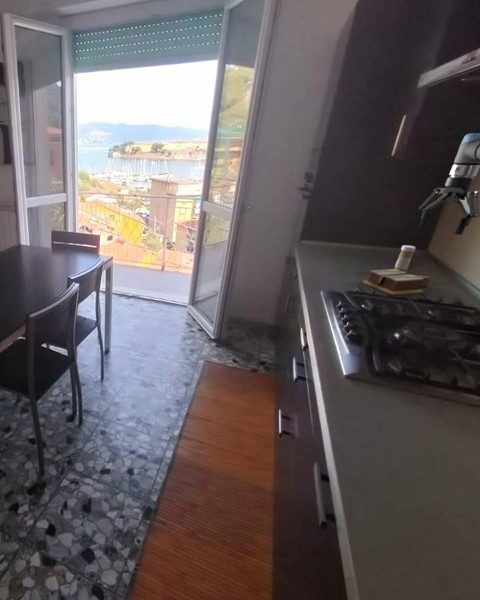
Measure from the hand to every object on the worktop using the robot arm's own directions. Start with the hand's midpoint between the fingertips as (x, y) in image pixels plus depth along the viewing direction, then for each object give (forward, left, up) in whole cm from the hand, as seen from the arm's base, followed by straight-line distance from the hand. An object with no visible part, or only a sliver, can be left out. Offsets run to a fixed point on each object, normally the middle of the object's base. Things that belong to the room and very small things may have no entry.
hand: (439, 230), depth 147 cm
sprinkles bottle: (+10, 0, -23) cm, 25 cm away
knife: (-4, +14, -21) cm, 26 cm away
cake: (-4, +19, -23) cm, 30 cm away
